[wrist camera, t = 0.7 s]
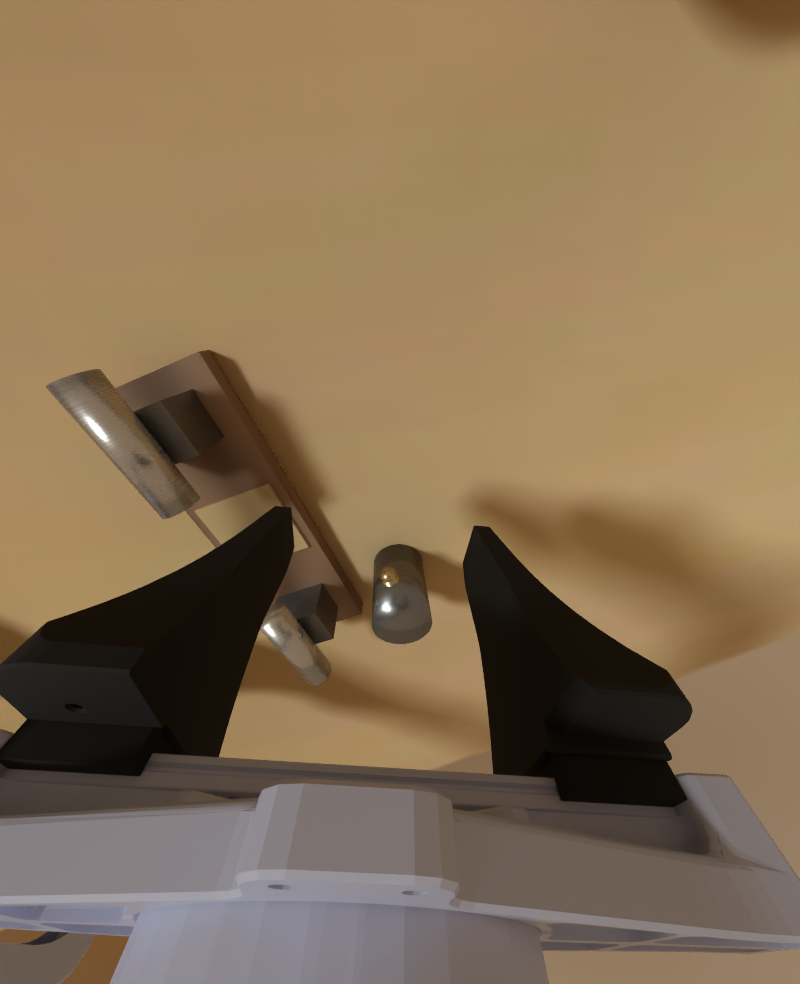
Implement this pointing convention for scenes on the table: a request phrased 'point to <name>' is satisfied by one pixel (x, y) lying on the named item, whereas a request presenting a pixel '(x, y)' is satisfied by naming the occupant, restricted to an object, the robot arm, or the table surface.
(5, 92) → the table surface
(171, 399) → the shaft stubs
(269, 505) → the shaft board
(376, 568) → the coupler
